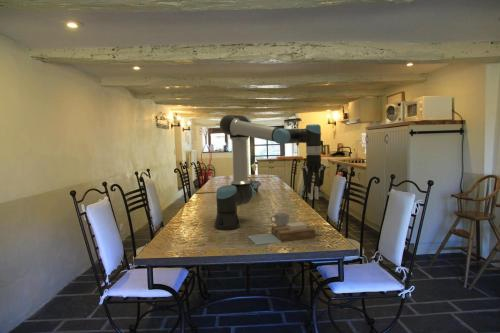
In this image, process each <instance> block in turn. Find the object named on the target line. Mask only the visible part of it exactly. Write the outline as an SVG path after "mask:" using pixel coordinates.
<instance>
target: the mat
mask: <svg viewBox="0 0 500 333" xmlns="http://www.w3.org/2000/svg"><path fill="white" fill-rule="evenodd" d="M247 237H248V239H250V241H252V243H253V244H254V245H256V246H262V245H263V246H264V245H270V244H277V243H278V244H280V243H282V241H281V240H279V239H278V238H277V237H275V236H274V235H273V234H272V232H271V233H270V232H269V233H268V232H267V233H261V234H260V233H259V234H253V235H251V234H250V235H247Z"/></svg>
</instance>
